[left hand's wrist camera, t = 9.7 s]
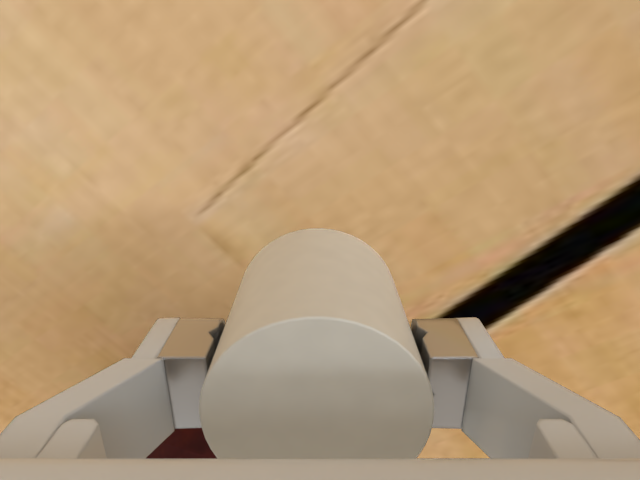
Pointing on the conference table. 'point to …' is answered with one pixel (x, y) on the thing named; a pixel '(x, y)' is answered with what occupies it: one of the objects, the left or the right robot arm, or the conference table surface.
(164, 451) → the potato
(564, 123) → the conference table surface
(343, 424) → the canister
